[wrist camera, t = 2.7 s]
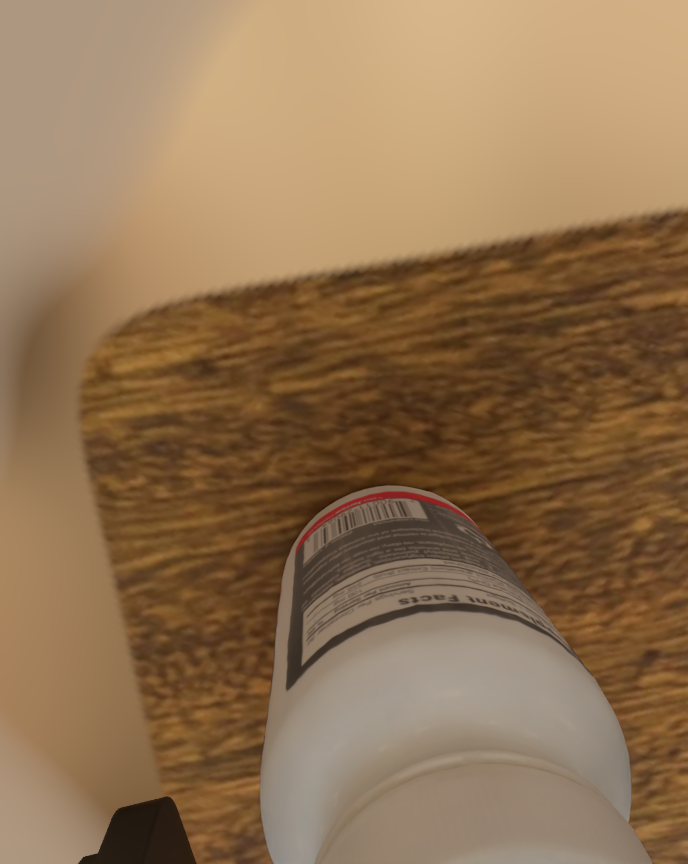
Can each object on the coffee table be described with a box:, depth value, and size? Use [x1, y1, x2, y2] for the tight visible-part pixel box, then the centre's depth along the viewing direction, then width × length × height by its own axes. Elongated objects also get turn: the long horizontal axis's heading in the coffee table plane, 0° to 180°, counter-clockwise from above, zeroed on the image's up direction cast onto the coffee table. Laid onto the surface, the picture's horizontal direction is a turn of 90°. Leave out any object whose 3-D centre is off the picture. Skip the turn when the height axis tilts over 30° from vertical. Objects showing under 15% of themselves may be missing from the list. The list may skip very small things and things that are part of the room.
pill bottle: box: [260, 485, 653, 864], centre depth 11 cm, size 5×5×10 cm
